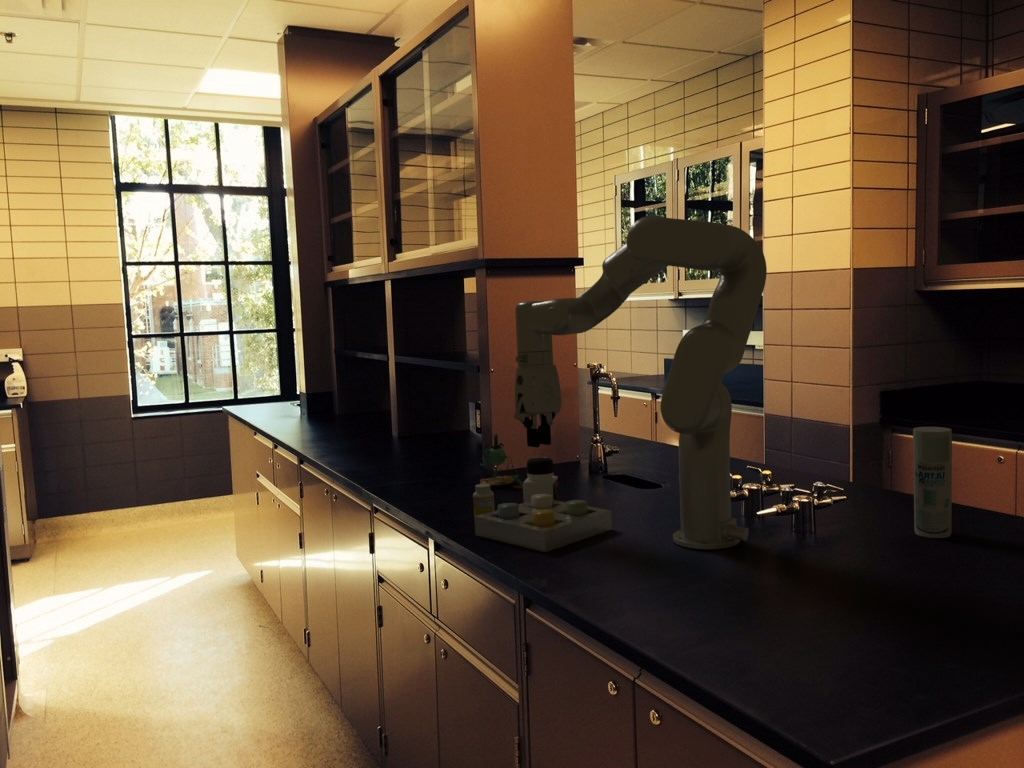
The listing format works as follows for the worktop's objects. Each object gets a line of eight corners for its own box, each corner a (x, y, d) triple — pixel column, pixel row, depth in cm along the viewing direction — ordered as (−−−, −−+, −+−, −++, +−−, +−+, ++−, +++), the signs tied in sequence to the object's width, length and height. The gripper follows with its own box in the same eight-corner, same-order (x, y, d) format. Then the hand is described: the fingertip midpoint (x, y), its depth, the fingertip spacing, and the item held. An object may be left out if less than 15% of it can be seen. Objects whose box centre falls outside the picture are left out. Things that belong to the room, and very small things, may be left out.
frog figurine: (500, 494, 209) (494, 436, 209) (469, 490, 225) (463, 436, 225) (533, 487, 214) (526, 431, 214) (500, 484, 230) (493, 431, 230)
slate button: (524, 523, 171) (523, 504, 170) (508, 528, 168) (507, 509, 167) (509, 520, 174) (508, 501, 173) (494, 525, 171) (493, 506, 170)
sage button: (592, 520, 170) (591, 501, 170) (578, 525, 167) (577, 505, 167) (576, 517, 173) (575, 498, 173) (562, 522, 170) (561, 503, 170)
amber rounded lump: (559, 531, 163) (558, 511, 163) (544, 536, 160) (543, 516, 160) (543, 527, 167) (542, 508, 166) (528, 532, 163) (527, 512, 163)
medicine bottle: (554, 513, 186) (552, 461, 185) (523, 513, 188) (521, 461, 187) (559, 505, 193) (557, 455, 192) (529, 505, 195) (527, 455, 194)
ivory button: (557, 513, 177) (556, 495, 177) (542, 518, 174) (541, 499, 174) (542, 510, 181) (541, 493, 180) (528, 515, 178) (527, 496, 177)
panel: (612, 529, 170) (611, 510, 170) (545, 552, 157) (544, 531, 156) (542, 515, 185) (541, 497, 184) (475, 535, 171) (474, 516, 171)
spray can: (953, 530, 157) (952, 427, 156) (951, 539, 152) (951, 432, 150) (915, 527, 161) (914, 426, 159) (912, 536, 155) (911, 431, 153)
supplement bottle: (480, 519, 184) (478, 482, 183) (498, 520, 182) (496, 483, 181) (470, 524, 180) (468, 486, 179) (489, 526, 178) (487, 487, 177)
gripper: (520, 362, 166) (524, 453, 168) (574, 357, 177) (577, 441, 179) (495, 362, 172) (499, 449, 173) (548, 356, 183) (552, 438, 184)
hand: (539, 444), depth 176 cm, fingers open, 2 cm apart
